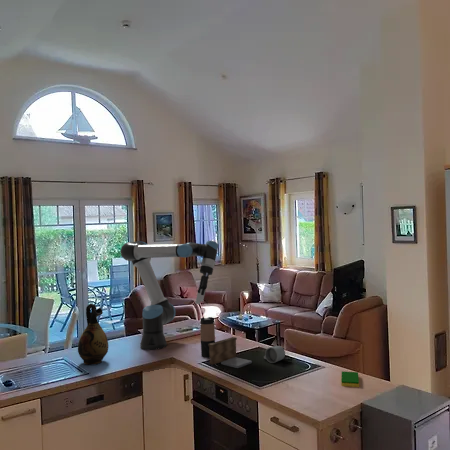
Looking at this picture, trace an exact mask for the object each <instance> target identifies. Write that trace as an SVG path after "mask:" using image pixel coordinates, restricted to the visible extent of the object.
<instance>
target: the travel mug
mask: <svg viewBox="0 0 450 450" xmlns="http://www.w3.org/2000/svg"><path fill="white" fill-rule="evenodd" d="M199 321H200V327H199V328H200V350H201V352H200V353H201V358H204V359H205V358H209V359H210V355H209V346H208V344H210V343H214V342H216V336H215V335H216V334H215V333H216V332H215V331H216V330H215V329H216V328H215V317H214V316H213V317H212V316H208V317H201V318H200V319H199Z"/></svg>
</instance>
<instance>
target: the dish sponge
mask: <svg viewBox="0 0 450 450" xmlns="http://www.w3.org/2000/svg"><path fill="white" fill-rule="evenodd" d="M340 381H341V382H340V384H341V386H342V387H349V388H350V387H352V388H359V387H360V380H359V372H357V371H341V380H340Z"/></svg>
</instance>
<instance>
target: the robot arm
mask: <svg viewBox="0 0 450 450" xmlns="http://www.w3.org/2000/svg"><path fill="white" fill-rule="evenodd" d="M218 251H219V244H218V242H217V241H213V240H207V241H206V243H197V242H192V241H191V242H186V243H175V244H174V243H172V244H171V243H168V244H165V243H164V244H148V243H147V242H144V241H140V240H137V241H130V242H126V243H124V244H123V245H122V246H121V247H120V255H121V258H122V259H124V260H125V261H128V262H131V263H132V266H134V267H136V268H137V271H138V274H139V276H140V278H141V281H142V283H143V286H144V289H145V291H146V293H147V295H148V298H149V300H150V305H147V306H145V307H143V309H142V336H141V340H140V345H139V346H140V347H139V348H140V349H141V350H145V351H153V350H161V349H164V348H166V347H167V345H168V344H167V340H166V336H165V333H164V325H166V324H169V323H171V322H172V321H173V320H174V319H175V317H176V308H175V306H174V305H173V304H172V303H171V302H170V301H169V299H168V297H165V296H164V293H163V291H162V288H161V286H160V283H159V282H158V279H157V276H156V274H155V272H154V268H153V267H152V265H151V259H152V258H154V259H155V258H160V259H161V258H190V257H200V258H201V257H202V259H201V264H200V269H199V273H200V274H202V275H201V276H200V281H199V286H198V290H197V294H196V298H195V302H194V304H196V305H201V303H202V302H204V298H205V295H206V291H207V288H208V282H209V278H210V277H209V276H212V275H213V273H214V268H215V265H216V263H215V262H216V259H217V254H218Z"/></svg>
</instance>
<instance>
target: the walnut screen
mask: <svg viewBox="0 0 450 450" xmlns="http://www.w3.org/2000/svg"><path fill="white" fill-rule="evenodd" d="M237 339H238V338H237V337H234V336H231V337H228V338H224V339H222V340H219V341H215V342H214V343H210V344H208V346H209V355H210V358H209V365H212V366H213V365H216V364H219V363H221V362H223V361H225V360H228V359H231V358H234V357H237Z"/></svg>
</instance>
